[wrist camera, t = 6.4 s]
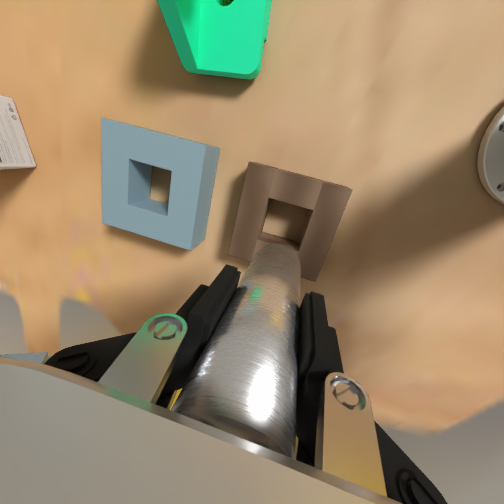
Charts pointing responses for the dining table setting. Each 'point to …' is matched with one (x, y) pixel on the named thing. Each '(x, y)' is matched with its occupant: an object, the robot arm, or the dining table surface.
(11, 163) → the supplement box
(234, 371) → the steel pin
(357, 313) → the dining table surface
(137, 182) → the socket block
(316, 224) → the walnut mount block
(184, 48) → the camera mount
